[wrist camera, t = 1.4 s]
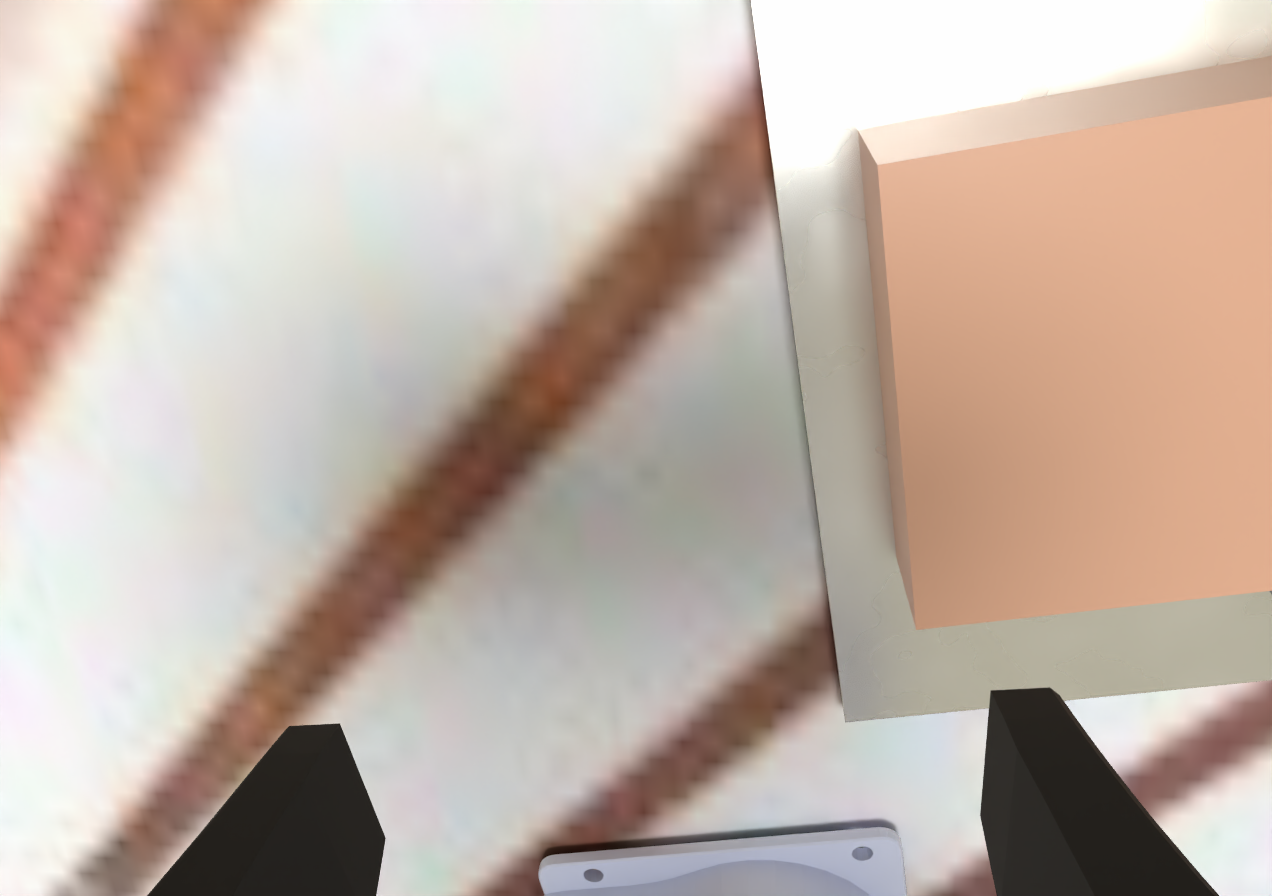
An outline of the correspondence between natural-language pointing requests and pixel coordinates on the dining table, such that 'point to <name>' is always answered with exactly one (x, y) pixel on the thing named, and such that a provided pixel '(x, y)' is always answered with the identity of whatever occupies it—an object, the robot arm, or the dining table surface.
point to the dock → (847, 345)
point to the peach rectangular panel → (1078, 345)
